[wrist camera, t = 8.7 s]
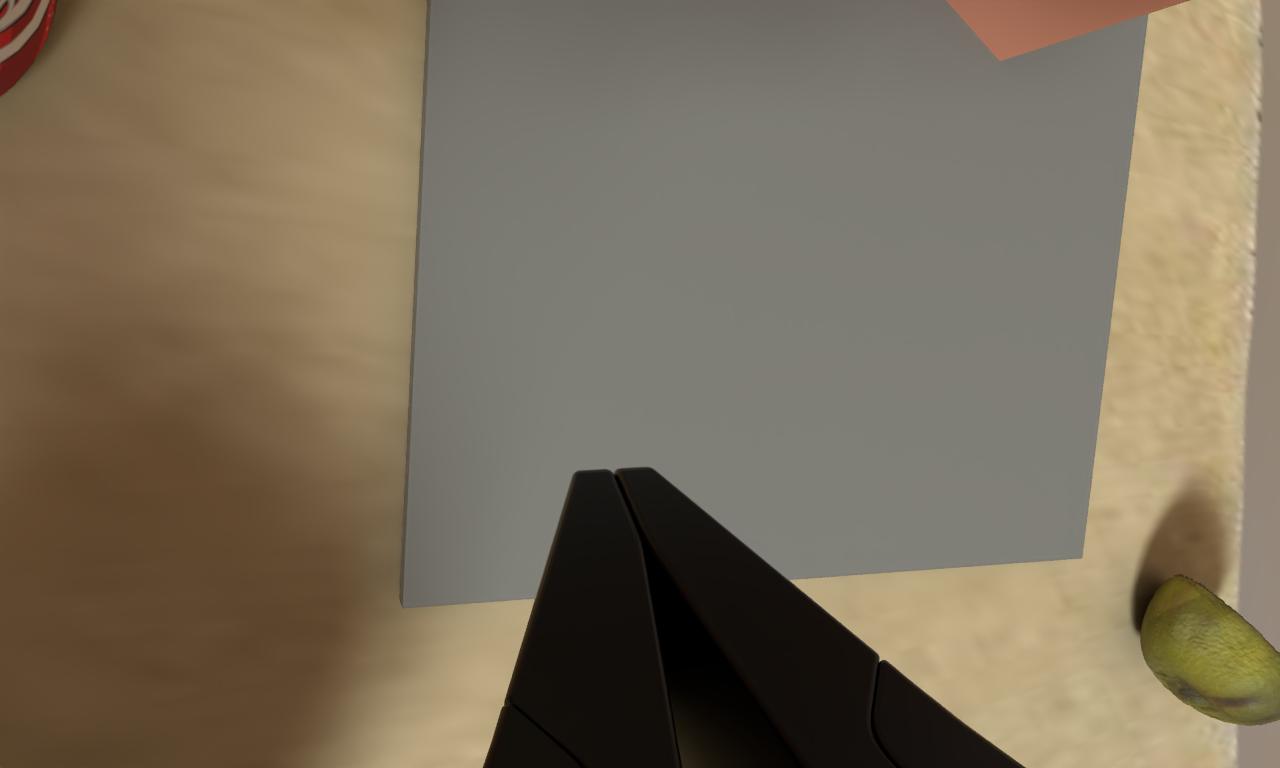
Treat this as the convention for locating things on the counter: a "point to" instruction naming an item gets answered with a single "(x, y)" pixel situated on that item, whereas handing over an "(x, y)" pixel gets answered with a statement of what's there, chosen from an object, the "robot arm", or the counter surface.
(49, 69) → the counter surface
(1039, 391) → the slate mat
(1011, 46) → the maple block
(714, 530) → the robot arm
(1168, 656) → the lime
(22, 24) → the soda can
